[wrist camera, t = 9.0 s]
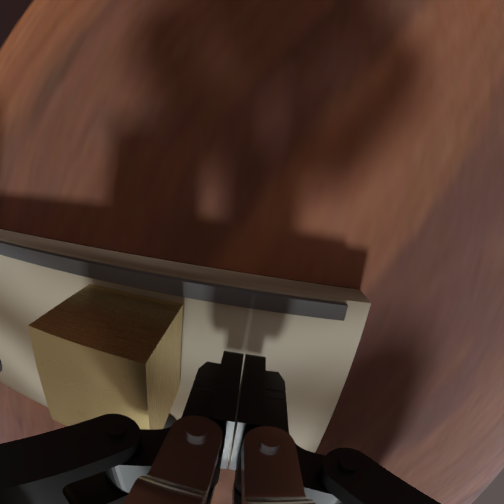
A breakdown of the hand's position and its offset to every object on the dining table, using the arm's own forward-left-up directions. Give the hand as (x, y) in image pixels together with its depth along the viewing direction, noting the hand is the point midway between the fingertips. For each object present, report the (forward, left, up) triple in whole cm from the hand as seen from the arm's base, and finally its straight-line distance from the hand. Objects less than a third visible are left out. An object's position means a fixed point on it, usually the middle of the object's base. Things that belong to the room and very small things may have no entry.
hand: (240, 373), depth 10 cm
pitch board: (+2, -7, -2) cm, 7 cm away
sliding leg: (+1, -4, -1) cm, 5 cm away
